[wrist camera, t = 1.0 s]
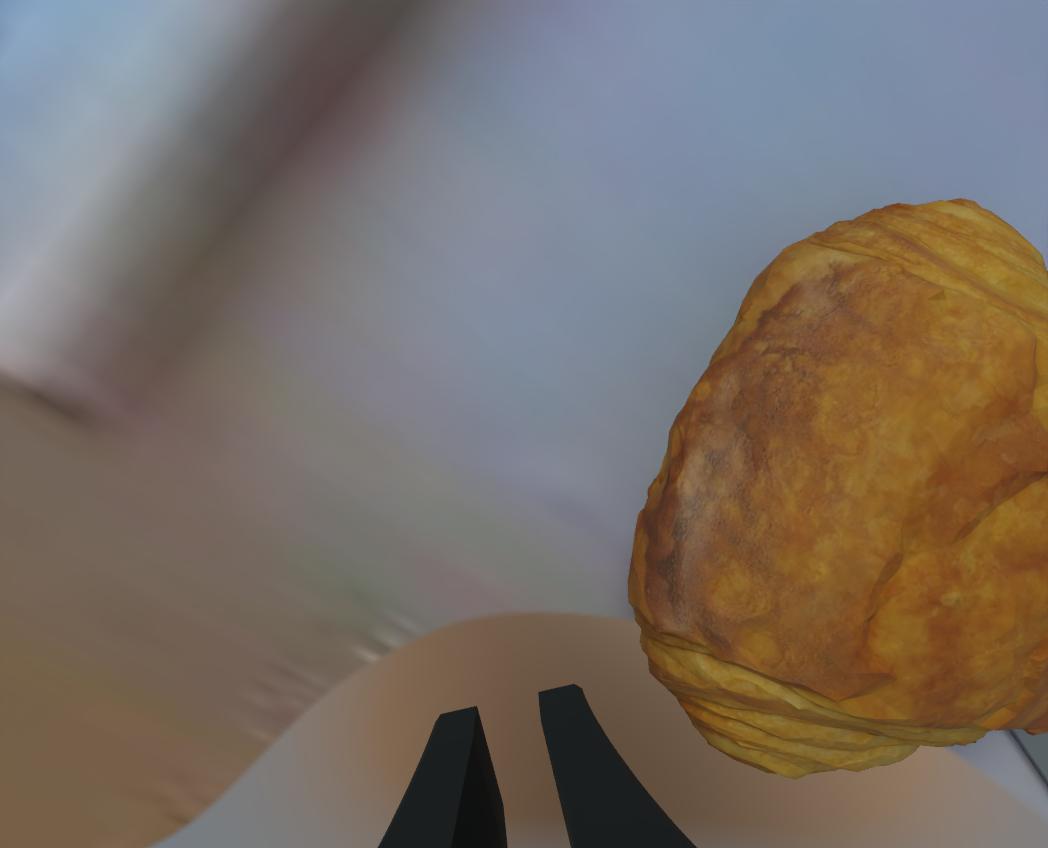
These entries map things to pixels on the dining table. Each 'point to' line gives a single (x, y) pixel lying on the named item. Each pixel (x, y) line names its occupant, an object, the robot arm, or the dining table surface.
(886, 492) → the croissant
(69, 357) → the dining table surface
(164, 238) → the dining table surface
